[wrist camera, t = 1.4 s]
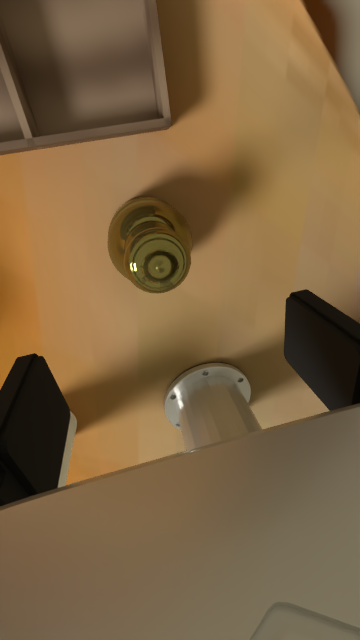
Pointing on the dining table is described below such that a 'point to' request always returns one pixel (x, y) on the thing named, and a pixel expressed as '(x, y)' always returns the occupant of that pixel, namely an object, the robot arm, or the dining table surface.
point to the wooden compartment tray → (79, 72)
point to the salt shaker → (150, 244)
